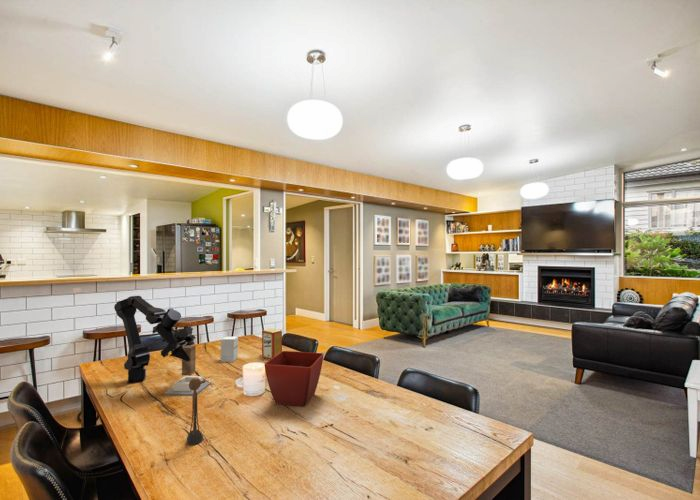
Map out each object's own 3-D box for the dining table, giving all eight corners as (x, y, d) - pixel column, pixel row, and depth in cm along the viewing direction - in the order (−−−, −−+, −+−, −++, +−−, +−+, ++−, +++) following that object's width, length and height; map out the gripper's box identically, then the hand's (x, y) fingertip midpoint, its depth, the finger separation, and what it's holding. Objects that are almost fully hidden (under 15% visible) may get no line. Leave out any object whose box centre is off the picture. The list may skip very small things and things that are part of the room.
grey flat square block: (163, 394, 148) (163, 385, 148) (182, 382, 162) (182, 373, 162) (195, 395, 146) (195, 386, 146) (211, 383, 160) (211, 374, 160)
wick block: (181, 375, 152) (182, 347, 152) (186, 372, 156) (187, 345, 156) (190, 375, 152) (190, 348, 152) (195, 372, 156) (195, 345, 156)
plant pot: (310, 411, 131) (310, 367, 131) (263, 407, 135) (263, 363, 135) (324, 392, 150) (324, 353, 150) (282, 388, 154) (282, 350, 154)
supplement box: (233, 362, 192) (233, 339, 192) (220, 362, 192) (220, 339, 192) (238, 358, 199) (238, 336, 200) (225, 358, 200) (225, 336, 200)
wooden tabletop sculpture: (200, 434, 115) (200, 373, 115) (208, 438, 112) (209, 376, 112) (183, 442, 110) (183, 378, 110) (191, 446, 107) (191, 381, 108)
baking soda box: (281, 357, 200) (281, 330, 200) (273, 360, 195) (273, 332, 195) (270, 355, 206) (270, 328, 206) (262, 357, 200) (262, 329, 201)
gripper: (167, 325, 145) (193, 352, 144) (191, 317, 164) (214, 341, 163) (149, 343, 146) (174, 370, 145) (175, 333, 165) (197, 357, 164)
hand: (191, 359), depth 154 cm, fingers closed on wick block, 4 cm apart
